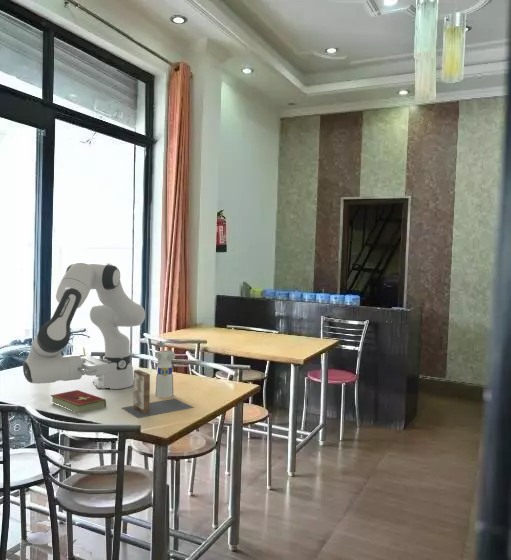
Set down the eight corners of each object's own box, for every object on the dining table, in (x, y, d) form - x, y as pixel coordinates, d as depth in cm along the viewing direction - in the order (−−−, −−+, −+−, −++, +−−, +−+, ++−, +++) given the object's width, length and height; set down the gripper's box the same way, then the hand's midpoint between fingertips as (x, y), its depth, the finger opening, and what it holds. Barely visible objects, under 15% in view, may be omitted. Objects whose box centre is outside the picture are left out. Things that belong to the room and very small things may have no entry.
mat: (120, 408, 191) (120, 407, 191) (174, 399, 206) (174, 398, 206) (138, 419, 179) (138, 418, 179) (194, 408, 194) (194, 407, 194)
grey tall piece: (175, 398, 208) (175, 340, 207) (154, 399, 206) (155, 340, 206) (175, 393, 216) (175, 337, 215) (155, 393, 214) (156, 337, 214)
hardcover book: (78, 398, 206) (78, 389, 206) (106, 408, 193) (106, 398, 193) (50, 404, 197) (50, 394, 197) (78, 415, 184) (78, 404, 183)
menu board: (133, 408, 191) (133, 370, 191) (138, 407, 193) (138, 369, 192) (144, 414, 184) (144, 375, 183) (149, 413, 185) (149, 374, 184)
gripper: (84, 363, 163) (123, 359, 172) (65, 354, 179) (102, 350, 188) (83, 381, 164) (123, 376, 172) (65, 371, 180) (101, 367, 188)
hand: (111, 363), depth 180 cm, fingers open, 7 cm apart
